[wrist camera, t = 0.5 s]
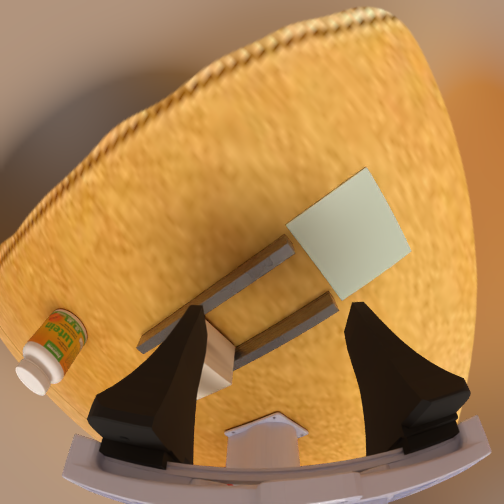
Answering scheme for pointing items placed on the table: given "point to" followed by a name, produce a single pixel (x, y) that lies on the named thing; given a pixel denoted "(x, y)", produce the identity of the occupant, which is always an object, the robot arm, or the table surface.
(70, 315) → the supplement bottle
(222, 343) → the block
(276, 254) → the parallel grey rails
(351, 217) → the pad
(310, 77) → the table surface
